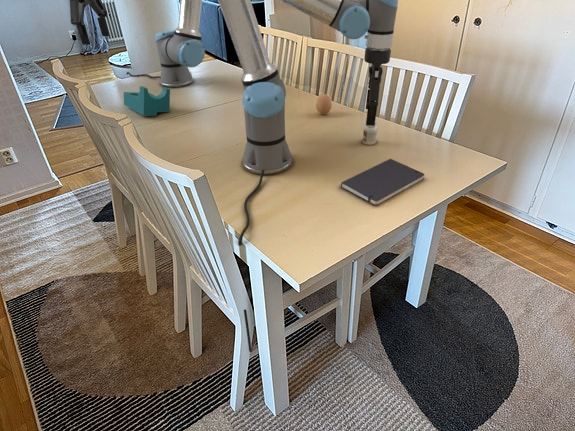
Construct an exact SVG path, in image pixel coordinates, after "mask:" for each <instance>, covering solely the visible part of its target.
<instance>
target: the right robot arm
mask: <svg viewBox="0 0 575 431" xmlns="http://www.w3.org/2000/svg"><path fill="white" fill-rule="evenodd" d="M278 1H280V2H281V3H283V4H286V5H287V6H289V7H291V8H293V9H295V10H297V11H299V12H301V13H303V14H305V15H307V16H308V17H311V18H313V19H315V20H317V21H319V22H321V23H323V24H325V25H327V26H328V27H330V28H332V29H334V30H335V31H338V32H340V33H341V35H343V36H344V37H345V38H347V39H350V40H358V39H361V38H362V37H364V39H365V40H366V41H365V46H366V48H364V58H363V59H364V62H365V63H366V64H370V66H369V67H368V82H367V85H368V86H367V92H366V93H367V94H366V102H365V110H366V111H367V112H366V120H365V126H366V125H370V126H375V120H377V119H376V118H377V111H378V106H379V97H380V96H379V95H380V88H381V87H380V84H381V82H382V76H383V71H384V70H383V66H382V65H387V64H389V63H390V60H391V54H392V49H391V48H392V47H393V42H394V36H395V24H396V18H397V12H398V3H399V0H278ZM217 2H218V5H219V8H220V11H221V13H222V16H223V18H224V21H225V24H226V27H227V29H228V32H229V36H230V38H231V41H232V43H233V46H234V49H235V53H236V55H237V58H238V60H239V63H240V66H241V69H242V71H243V73H242V76H241V77H240V80H241V83H242V86H243V89H244V91H243V94H242V107H243V114H244V124H245V136H246V137H245V138H246V143H245V146H244V151H243V155H242V166H243V168H244V170H246V171H247V172H249V173H252V174H254V175H255V174H256V175H260V176H259V181H258V184H257V186H256V187H255V188H254V189H253V190H252V192H250V193H249V194H248V196H246V199H245V200H244V204H243V209H244V213H245V216H246V225H245V227H244V228H243V229H242V230H241V233H240V234H239V237H238V247H239V246H242V242H243V238H244V235H245V233H246V232H247V230H248V229H249V227H250V221H251V219H250V214H249V211H248V202H249V200H250V198H251V197H252V196H254V195H255V194H256V192H257V191H258V190H259V189H260V187H261V185H262V183H263V178H264V176H269V175H277V174H280V173H283V172H286V171H287V170H289V169H290V167H291V166H292V163H293V158H292V153H291V150H290V148H289V145H288V143H287V140H286V115H285V114H286V111H285V110H286V95H287V92H286V86H285V83H284V81H283V80H282V78H281V76H280V72H279V69H278V66H276V65H275V64H273V63H271V61H270V58H269V55H268V50H267V47H266V45H265V42H264V39H263V36H262V32H261V29H260V26H259V22H258V20H257V17H256V14H255V10H254V6H253V4H252V0H217ZM243 315H244V316H243V317H244V322H245V329H246V337H247V343H248V352H249V353H251V352H252V342H251V336H250V335H251V334H250V327H249V326H250V325H249V320H248V319H249V318H248V311H247V309H245V308H244V309H243Z"/></svg>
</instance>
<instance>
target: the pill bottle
mask: <svg viewBox="0 0 575 431" xmlns="http://www.w3.org/2000/svg"><path fill="white" fill-rule="evenodd" d="M377 122H378V120H377V119H375V126H370V125H366V124H365V125H364V126H363V131H362V132H363V133H362V143H363V144H364V145H368V146H371V145H375V144H376V142H377V134H378V127H377Z"/></svg>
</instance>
